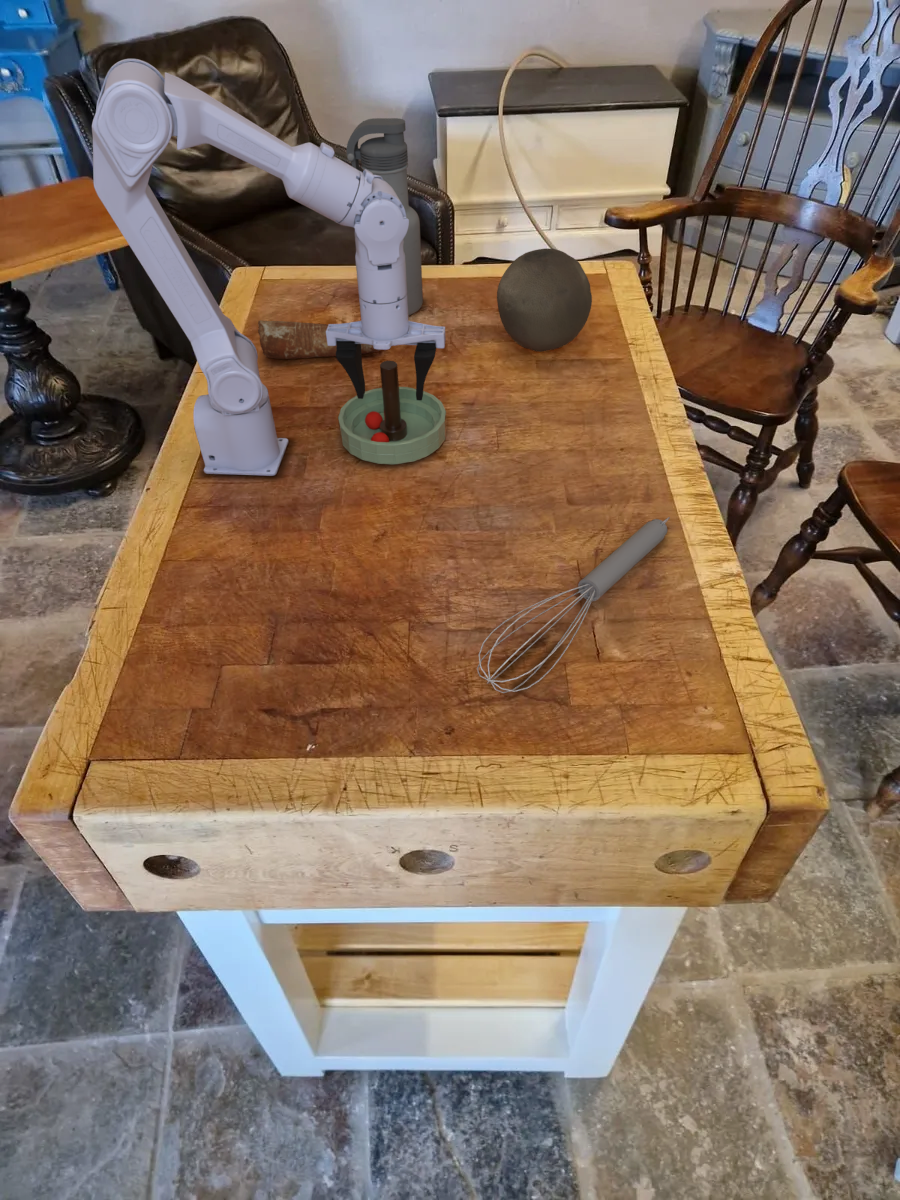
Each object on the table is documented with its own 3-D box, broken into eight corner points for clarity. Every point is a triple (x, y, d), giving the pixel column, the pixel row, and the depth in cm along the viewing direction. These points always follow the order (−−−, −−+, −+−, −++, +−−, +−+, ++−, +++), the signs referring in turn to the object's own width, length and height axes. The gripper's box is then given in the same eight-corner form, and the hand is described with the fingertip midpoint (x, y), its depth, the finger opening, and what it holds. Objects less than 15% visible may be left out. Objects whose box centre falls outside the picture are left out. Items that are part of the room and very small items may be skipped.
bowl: (333, 465, 104) (329, 443, 102) (350, 407, 114) (348, 385, 112) (441, 469, 103) (440, 446, 101) (449, 409, 113) (449, 387, 111)
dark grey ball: (497, 327, 130) (500, 233, 120) (584, 330, 129) (595, 234, 119) (493, 371, 120) (495, 272, 110) (587, 374, 119) (599, 275, 109)
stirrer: (377, 439, 107) (371, 370, 100) (384, 425, 110) (378, 356, 102) (403, 442, 107) (399, 373, 99) (409, 427, 109) (405, 359, 102)
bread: (264, 347, 127) (258, 314, 123) (385, 343, 127) (382, 310, 123) (259, 367, 122) (253, 333, 118) (384, 363, 123) (381, 329, 119)
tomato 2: (366, 432, 105) (377, 430, 103) (381, 433, 106) (392, 431, 105) (367, 451, 105) (378, 449, 103) (382, 451, 107) (393, 450, 105)
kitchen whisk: (688, 537, 93) (699, 494, 88) (513, 721, 75) (515, 678, 71) (643, 516, 96) (651, 473, 91) (463, 688, 78) (462, 645, 73)
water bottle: (358, 319, 133) (339, 131, 113) (368, 293, 140) (352, 111, 120) (419, 321, 132) (410, 131, 113) (426, 295, 139) (419, 112, 119)
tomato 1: (366, 434, 109) (358, 417, 108) (375, 428, 110) (367, 412, 110) (380, 428, 107) (372, 412, 106) (388, 423, 109) (381, 406, 108)
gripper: (315, 307, 92) (330, 410, 102) (441, 310, 91) (443, 413, 101) (327, 281, 97) (339, 381, 107) (446, 283, 96) (447, 384, 106)
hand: (390, 395), depth 104 cm, fingers open, 7 cm apart
